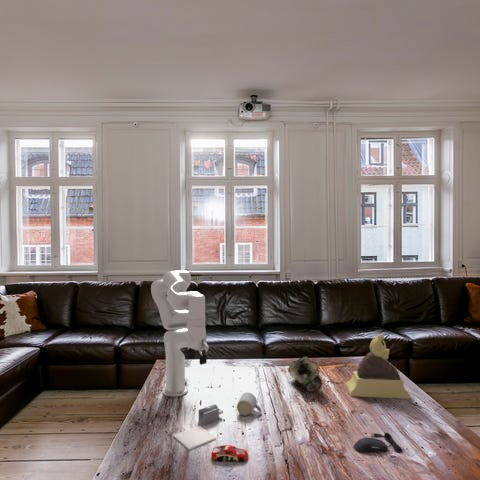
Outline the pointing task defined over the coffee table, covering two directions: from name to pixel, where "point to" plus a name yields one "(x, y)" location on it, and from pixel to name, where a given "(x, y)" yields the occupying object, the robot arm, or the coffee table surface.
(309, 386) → the hollow geode rock
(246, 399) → the ceramic mug
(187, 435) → the felt coaster
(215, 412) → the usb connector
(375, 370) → the yellow brown mound sculpture
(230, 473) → the coffee table surface
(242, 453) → the race car
